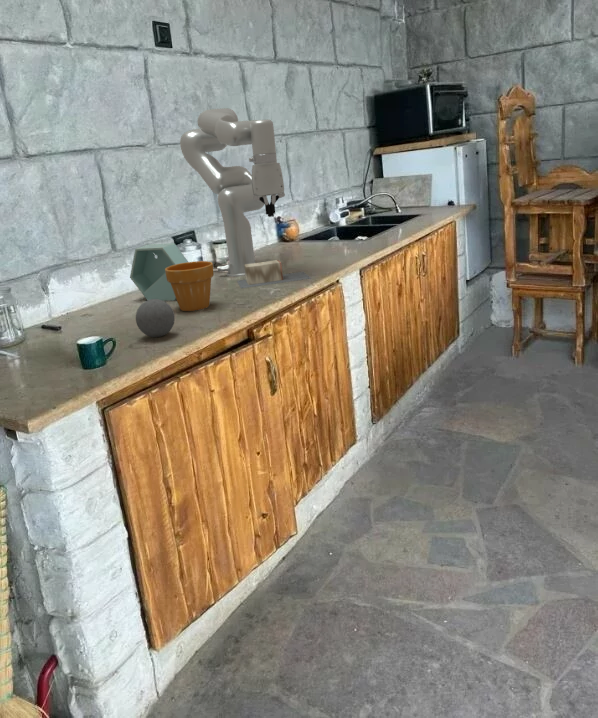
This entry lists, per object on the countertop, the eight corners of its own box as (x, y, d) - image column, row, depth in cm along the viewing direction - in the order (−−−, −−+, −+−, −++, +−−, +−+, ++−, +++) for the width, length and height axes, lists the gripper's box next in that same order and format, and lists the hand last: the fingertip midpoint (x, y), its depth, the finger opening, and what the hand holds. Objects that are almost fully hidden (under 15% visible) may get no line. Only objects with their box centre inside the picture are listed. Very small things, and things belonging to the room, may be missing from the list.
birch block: (283, 279, 234) (248, 284, 232) (280, 276, 240) (246, 281, 238) (281, 262, 232) (246, 267, 230) (278, 259, 238) (244, 264, 236)
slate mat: (241, 289, 228) (240, 288, 228) (236, 282, 241) (236, 280, 241) (311, 279, 232) (311, 278, 231) (303, 272, 245) (303, 271, 245)
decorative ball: (175, 339, 177) (169, 301, 174) (136, 343, 177) (129, 306, 174) (178, 329, 187) (173, 293, 184) (142, 333, 186) (135, 297, 183)
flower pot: (222, 300, 216) (216, 259, 212) (213, 311, 202) (207, 268, 198) (177, 304, 217) (171, 263, 213) (166, 315, 204) (159, 272, 200)
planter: (158, 314, 227) (119, 264, 225) (169, 308, 234) (132, 259, 232) (191, 285, 219) (151, 233, 217) (202, 280, 226) (163, 229, 224)
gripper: (243, 162, 220) (250, 220, 226) (289, 157, 222) (294, 215, 228) (241, 161, 227) (247, 217, 233) (285, 157, 229) (290, 212, 235)
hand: (270, 216), depth 230 cm, fingers closed
